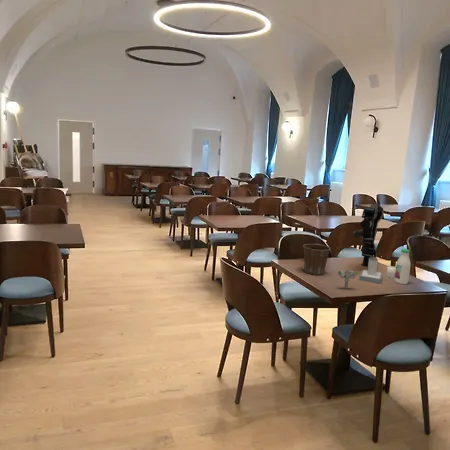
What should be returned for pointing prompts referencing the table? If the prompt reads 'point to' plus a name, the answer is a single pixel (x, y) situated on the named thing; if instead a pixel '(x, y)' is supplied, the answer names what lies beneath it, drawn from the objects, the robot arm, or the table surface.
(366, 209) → the robot arm
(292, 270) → the table surface
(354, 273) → the mechanical component
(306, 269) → the plant pot
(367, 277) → the stand
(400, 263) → the milk bottle
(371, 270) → the housing
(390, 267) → the white short cylinder
